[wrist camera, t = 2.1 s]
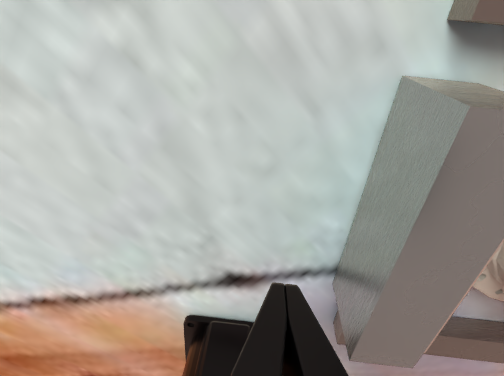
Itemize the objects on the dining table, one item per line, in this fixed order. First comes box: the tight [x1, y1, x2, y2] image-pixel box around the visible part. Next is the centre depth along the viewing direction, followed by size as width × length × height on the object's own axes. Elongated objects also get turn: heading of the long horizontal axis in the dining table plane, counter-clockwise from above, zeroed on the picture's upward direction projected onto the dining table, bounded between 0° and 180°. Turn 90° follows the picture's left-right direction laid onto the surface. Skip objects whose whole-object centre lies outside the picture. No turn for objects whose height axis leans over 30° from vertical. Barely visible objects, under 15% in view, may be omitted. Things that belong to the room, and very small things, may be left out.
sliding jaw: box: [333, 76, 504, 368], centre depth 12 cm, size 12×4×5 cm, turn 175°
